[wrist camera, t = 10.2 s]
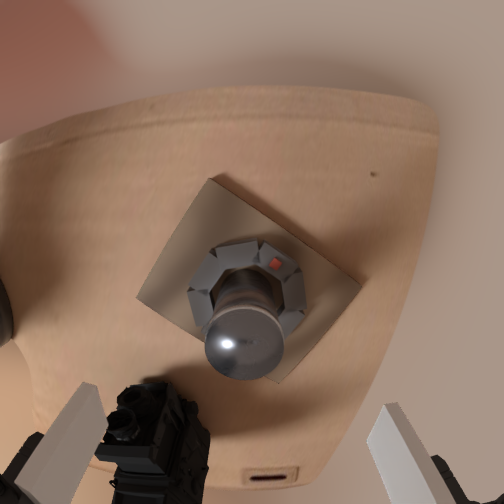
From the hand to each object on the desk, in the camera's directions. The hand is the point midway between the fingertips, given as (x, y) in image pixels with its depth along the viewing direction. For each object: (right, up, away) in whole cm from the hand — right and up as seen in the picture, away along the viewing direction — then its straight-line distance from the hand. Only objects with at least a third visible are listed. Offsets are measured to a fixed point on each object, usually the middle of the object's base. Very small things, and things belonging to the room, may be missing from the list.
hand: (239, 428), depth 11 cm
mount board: (0, +4, +18) cm, 18 cm away
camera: (-10, -13, +21) cm, 27 cm away
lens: (0, +4, +16) cm, 17 cm away
